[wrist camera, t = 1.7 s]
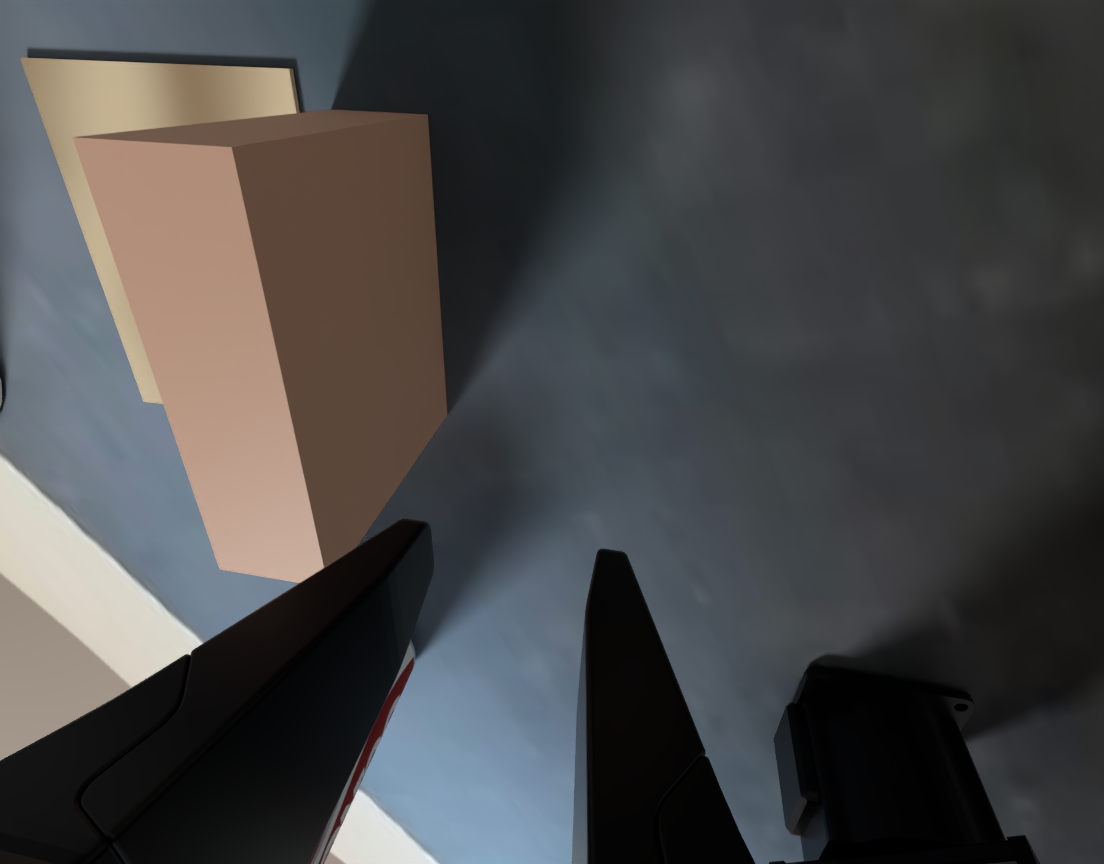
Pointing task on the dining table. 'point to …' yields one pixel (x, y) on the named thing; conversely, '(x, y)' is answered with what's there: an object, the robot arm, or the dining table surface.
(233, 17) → the dining table surface
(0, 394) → the toilet tissue
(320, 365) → the block
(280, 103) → the tan wooden flat board
